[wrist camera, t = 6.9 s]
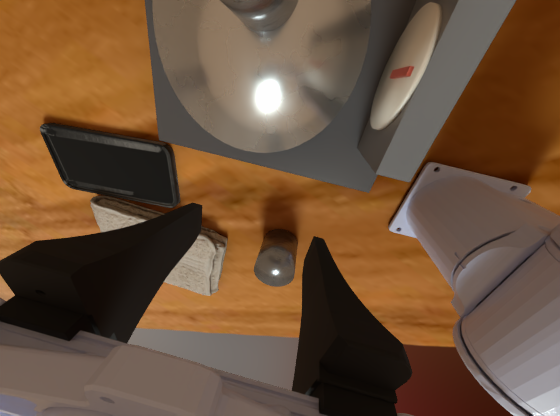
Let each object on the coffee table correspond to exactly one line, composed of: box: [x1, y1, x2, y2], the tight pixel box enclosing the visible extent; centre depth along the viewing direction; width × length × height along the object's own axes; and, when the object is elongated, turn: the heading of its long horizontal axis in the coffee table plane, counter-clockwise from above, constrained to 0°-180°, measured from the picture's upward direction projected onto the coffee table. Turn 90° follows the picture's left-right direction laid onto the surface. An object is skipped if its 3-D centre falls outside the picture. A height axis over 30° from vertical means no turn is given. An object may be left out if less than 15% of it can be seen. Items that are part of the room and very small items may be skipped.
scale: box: [145, 0, 516, 193], centre depth 13 cm, size 20×17×8 cm
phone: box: [40, 123, 180, 208], centre depth 24 cm, size 8×1×15 cm
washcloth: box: [90, 196, 228, 296], centre depth 29 cm, size 12×18×3 cm, turn 75°
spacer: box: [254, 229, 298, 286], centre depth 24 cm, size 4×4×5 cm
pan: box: [152, 0, 371, 153], centre depth 14 cm, size 14×14×1 cm
